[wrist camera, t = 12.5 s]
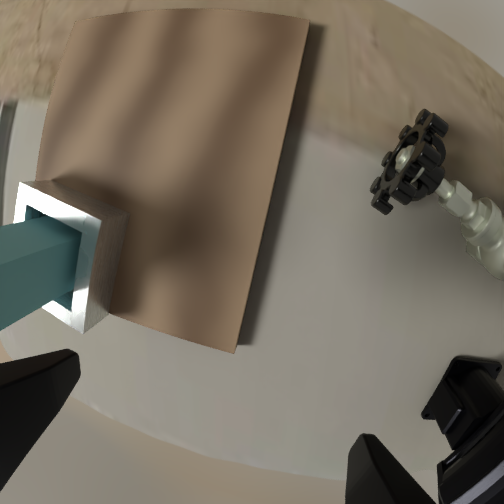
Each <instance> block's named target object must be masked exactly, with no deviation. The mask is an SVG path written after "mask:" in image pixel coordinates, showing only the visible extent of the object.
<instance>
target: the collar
mask: <svg viewBox="0 0 504 504" xmlns="http://www.w3.org/2000/svg"><path fill="white" fill-rule="evenodd" d="M44 216H51V217H53V218H55V219H57V220H59V221H61V222H63V223H64V224H66V225H68V226H70V227H72V228H74V229H76V230H78V231H80V232H82V238H81V243H80V249H79V255H78V262H77V268H76V276H75V283H74V289H73V290H71V291H69V292H67V293H65V294H64V295H62V296H60V297H58V298H56V299H55V300H53V301H51V302H49V303H47V304H46V305H44V306H42V308H44V309H45V310H47V311H48V312H50V313H51V314H53V315H54V316H56V317H57V318H59V319H60V320H62V321H63V322H65V323H66V324H68V325H69V326H71V327H73V328H74V329H76V330H77V331H79V332H81V333H82V334H84V333H85V332H87V331H88V330H89V329H91V328H92V327H93V326H94V325H96V324H97V323H98V322H100V321H101V320H102V319H104V318H105V317H106V316H107V315H109V309H110V303H111V297H112V292H113V287H114V282H115V277H116V272H117V267H118V262H119V258H120V253H121V249H122V245H123V241H124V236H125V232H126V228H127V225H128V221H129V217H130V213H128V212H126V211H123V210H121V209H118V208H116V207H114V206H111V205H109V204H107V203H104V202H102V201H100V200H97V199H95V198H92V197H90V196H88V195H85V194H83V193H81V192H78V191H76V190H74V189H71V188H69V187H67V186H64V185H62V184H60V183H57V182H55V181H53V180H41V181H28V182H20V185H19V190H18V197H17V203H16V211H15V219H14V223H17V222H22V221H26V220H30V219H35V218H40V217H44Z"/></svg>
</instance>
